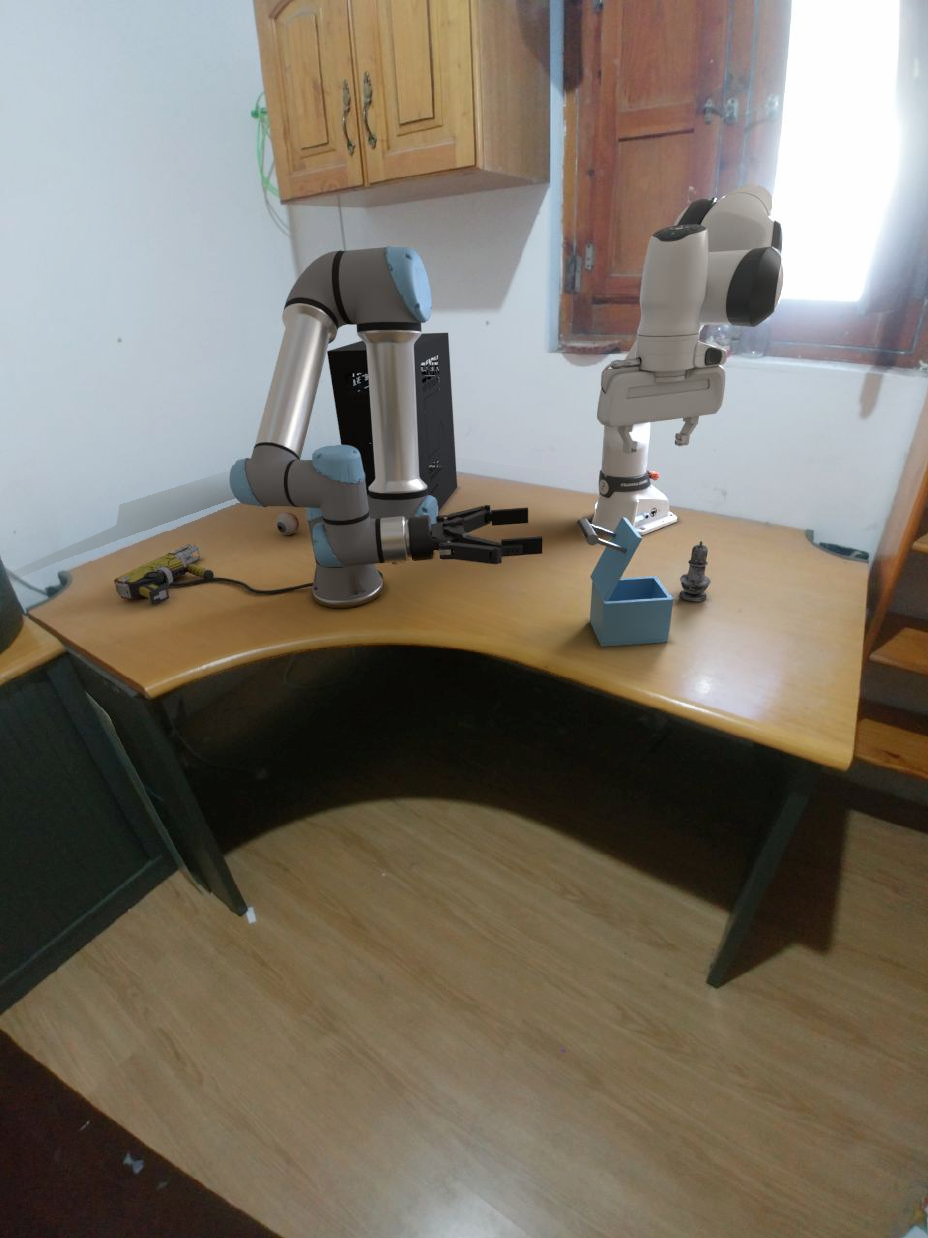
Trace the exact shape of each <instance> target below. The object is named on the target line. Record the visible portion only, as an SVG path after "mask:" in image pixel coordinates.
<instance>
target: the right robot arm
mask: <svg viewBox="0 0 928 1238" xmlns="http://www.w3.org/2000/svg"><path fill="white" fill-rule="evenodd" d="M774 218H775V202H774V198H773V195H772V194H771V192H770V191H769V190H768V189H767V188H766V187H765V186H762V185H760V184H756V183H748V184H744V185H741V186H738V187H736V188H734V189H732V190H730V191H729V192H727V193H726V194H725V195H723V196H722V197H721V198H720V199H718V200H717V197H712V198H711V199H708V198H700V199H697V200H693V201H692V202H691V203H690V204H689V205H688V206H687V207H685V208H684V209H683V210H682V211H681V213H680V214H679V215H678V216H677V218H676V220H675V221H674V223H673V225H672V226H666V227H663V228H661V229H658V230H657V231H655V232H654V233H653V234H652V235H651V236H650V238H649V241H648V244H647V248H646V253H645V257H644V262H643V269H642V276H641V283H640V292H639V306H640V320H639V324H638V327H637V330H636V339H635V341H634V343H633V344H632V346H631V347H630V350H629V351H628V353H627V355H626V356H625V358H624V359H615V360H612V361H610V363H608V364H607V365H606V366H605V367H604V368H603V370H602V371H601V375H600V376H601V377H600V391H599V397H598V402H597V409H596V410H597V411H596V418H597V420H598V422H599V423H600V424H601V425H603V438H602V453H601V468H600V470H599V474H598V492H599V493H598V498H597V502H596V503H595V506H594V509H595V511H594V514H593V517H592V520H591V524H592V525H595V526H597V527H600V528H603V529H606V530H608V531H611V532H614V531H615V529H616V527H617V525H618V523H619V521H620V520H621V518H622V517H624V518H627V520H628V521H629V522H630V523H631V525H632V526H633V527H634V528H635V530H636V531H637V532H638V533H639V535H640V536H645V535H646V534H650V533H652V532H654V531H657V530H660V529H662V528H665V527H668V526H670V525H672V524H675V523H677V522H678V516H677V515H676V514H675V513H674V512H672V511H670V503H669V502H670V501H669V498H668V497H667V496H666V495H665V494H664V493H663V492H661V491H660V490H659V489H658V488H656V487H655V486H654V485H652V483H651V480H653V481H658V479H659V478H660V473H659V472H657V471H654V470H651V471H649V470H648V469H647V466H648V458H649V457H648V455H649V446H650V435H651V423H657V422H664V421H670V420H679V419H682V422H684V424H683V426H682V428H681V430H680V431H679V432H677V433H675V435H674V438H675V440H674V445H675V446H678V447H686V446H689V444H690V436H691V435H692V433H693V432H694V430H695V428H696V427H697V425H698V424H699V418H700V416H701V417H702V416H708V415H715V414H717V413H718V412H719V411H720V409H721V408H722V406H723V403H724V397H725V388H726V371H725V369H724V367H723V365H725V364H726V363H727V359H728V351H727V349H725V348H722V347H718V346H716V345H712V344H709V343H706V342H703V341H700V338H701V337H700V336H701V332H702V330H703V328H704V327H705V326H724V325H725V326H735V327H749V328H755V327H758V326H759V325H760V324H762V323H763V322H764V321H766V320H767V319H768V318H770V317H771V316H772V314H774V313H775V311H776V308H777V307H778V306H779V303H780V300H781V298H782V294H783V291H784V285H785V267H784V264H783V258H784V257H783V256H784V245H785V244H784V239H785V237H784V235H785V233H784V229H783V225H782V224H781V223H780V222H779V221H777V220H774Z"/></svg>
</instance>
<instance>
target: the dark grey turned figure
mask: <svg viewBox="0 0 928 1238" xmlns="http://www.w3.org/2000/svg"><path fill="white" fill-rule="evenodd" d="M708 553H709V549H708V547H707V546H706V545H705V544H704V542H703V541H702V540H700V542H699V543H698V544H695V545H694V546H693V547H692V550H691V555H690V559H689V560H688V562H687V563H688V565H689V567H688V572H687V573H685V574H682V575H681V576H680V577H679V581H680V585H681V587H682V590H680V591H679V594H678V595H679V597H680V598H681V599H683V600H685V601H689V602H694V603H695V602H703V601H705V600H706V599H707V596H708V595H707V594H706V590H707V589H708V588H709V586H710V585H711V583H712V581H711V578H709V577H708V576H706V573H705V572H706V567H707V566H708V564H709V563H708V561H707V557H708Z"/></svg>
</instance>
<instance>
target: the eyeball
mask: <svg viewBox="0 0 928 1238" xmlns="http://www.w3.org/2000/svg"><path fill="white" fill-rule="evenodd" d="M299 525H300V522H299V519H298V517H297V516H296V515H295V514H294V513H292V512H287V511H286V512H282V513H280V514H279V515H278V516H277V517H276V520H275V527H276V529H277V530H278V531H279V532H280V533H281V534H282V535H285V536H286V535H287V536H289V535H293V534H295V533H296V532H297V531H298V529H299Z"/></svg>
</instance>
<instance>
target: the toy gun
mask: <svg viewBox="0 0 928 1238" xmlns="http://www.w3.org/2000/svg"><path fill="white" fill-rule="evenodd" d="M196 552H197V554H198V555H197V556H196V555H193V554H194V553H196ZM200 559H201V555H200V549H199V546H198V545H195V544H193V545H192V544H190V543H188V544H187V545H185V546H183V547H181V548H179V549H177V550H174V551H173V552H168V553H166V554H164V555H161V556H160V557H158V558H155V559H154V560H151V561H150V562H147V563H145V564H142V565H140V566H138V567H137V568H135V569H132V570H130V571H128V572H126V573H123V574H122V575H120V576H118V577H116V578H114V580H113V584H114V586H115V590H116V593H117V594H118V596H119V597H120V599H122V600H126V601H127V600H129V599H133V600H135V599H141V598H144V597H145V598H147V599H149V600H150V604H151V606H155V605H158V604H160V603H163V601H167V600H169V599H170V595H169V590H168V587H169V586H168V585H169V584H170V583H174V580H175V579H177V578H180V577H183V576H185V575H186V574H187V573H188V574H190V575H192V576H196V577H199V579H205V580H209V579H210V578H215V574H214V571H212V570H211V569H207V568H205V567H203V566H199V565H196V564H194V563H195V562H196V561H197V560H200Z"/></svg>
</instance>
